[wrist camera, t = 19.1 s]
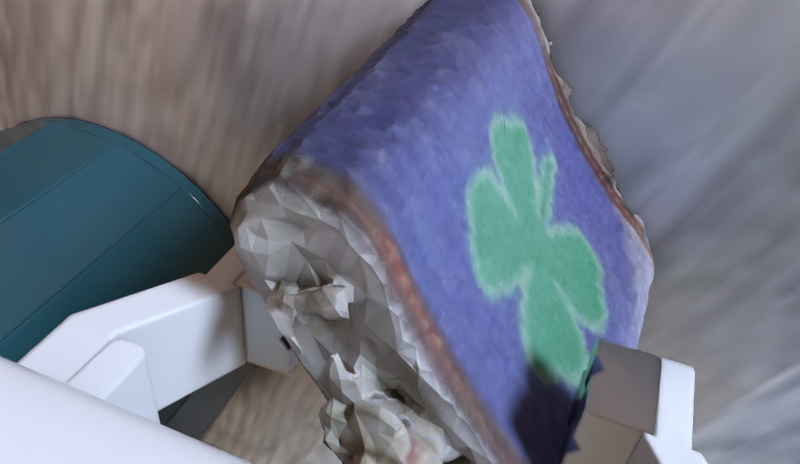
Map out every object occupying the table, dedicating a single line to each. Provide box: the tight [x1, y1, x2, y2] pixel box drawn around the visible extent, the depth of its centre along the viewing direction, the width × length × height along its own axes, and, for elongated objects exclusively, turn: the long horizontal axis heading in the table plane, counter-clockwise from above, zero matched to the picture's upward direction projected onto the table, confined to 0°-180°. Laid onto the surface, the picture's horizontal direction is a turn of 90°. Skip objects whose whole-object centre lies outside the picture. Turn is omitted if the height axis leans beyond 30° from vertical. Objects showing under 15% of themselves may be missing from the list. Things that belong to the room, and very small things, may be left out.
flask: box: [229, 0, 655, 464], centre depth 13 cm, size 9×3×11 cm, turn 33°
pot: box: [0, 118, 257, 442], centre depth 23 cm, size 13×13×8 cm
